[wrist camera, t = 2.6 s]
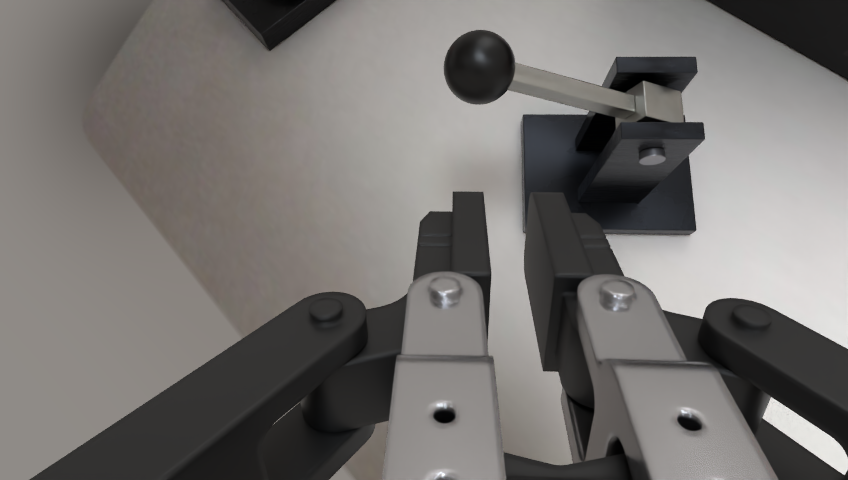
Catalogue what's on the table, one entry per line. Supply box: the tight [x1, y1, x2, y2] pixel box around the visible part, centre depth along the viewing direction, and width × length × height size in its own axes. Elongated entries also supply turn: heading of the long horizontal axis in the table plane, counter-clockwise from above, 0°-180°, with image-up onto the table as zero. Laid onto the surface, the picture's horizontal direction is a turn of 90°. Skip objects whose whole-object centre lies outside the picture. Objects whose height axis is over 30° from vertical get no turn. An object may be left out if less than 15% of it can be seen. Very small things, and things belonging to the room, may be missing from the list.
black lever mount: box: [521, 57, 705, 235], centre depth 36 cm, size 12×9×12 cm
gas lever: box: [444, 30, 684, 129], centre depth 30 cm, size 14×4×4 cm, turn 88°
